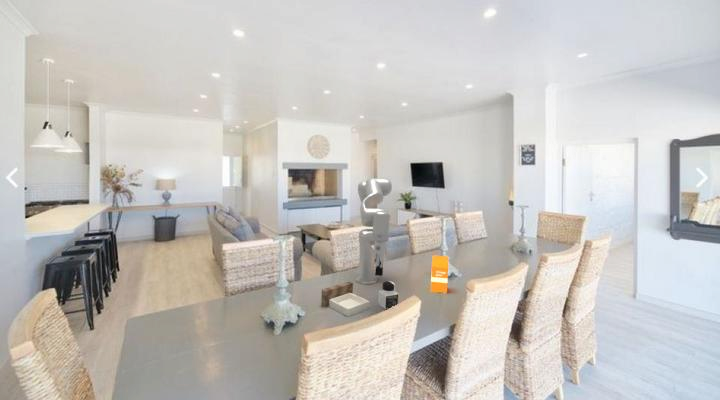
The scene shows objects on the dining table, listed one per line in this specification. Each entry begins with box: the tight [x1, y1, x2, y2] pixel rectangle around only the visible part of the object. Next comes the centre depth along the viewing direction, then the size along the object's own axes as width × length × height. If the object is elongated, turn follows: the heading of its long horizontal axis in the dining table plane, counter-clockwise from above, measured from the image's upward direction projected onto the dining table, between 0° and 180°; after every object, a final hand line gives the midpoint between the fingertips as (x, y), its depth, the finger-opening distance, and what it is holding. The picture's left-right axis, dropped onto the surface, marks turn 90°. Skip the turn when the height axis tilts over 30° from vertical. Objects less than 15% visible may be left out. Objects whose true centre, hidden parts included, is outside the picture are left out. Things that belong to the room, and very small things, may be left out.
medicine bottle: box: [377, 280, 399, 311], centre depth 160 cm, size 7×7×12 cm
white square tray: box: [328, 293, 371, 317], centre depth 157 cm, size 14×14×4 cm
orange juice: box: [430, 254, 449, 294], centre depth 183 cm, size 8×9×20 cm
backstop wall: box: [320, 281, 354, 308], centre depth 164 cm, size 18×3×8 cm, turn 134°
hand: (378, 275), depth 154 cm, fingers closed
